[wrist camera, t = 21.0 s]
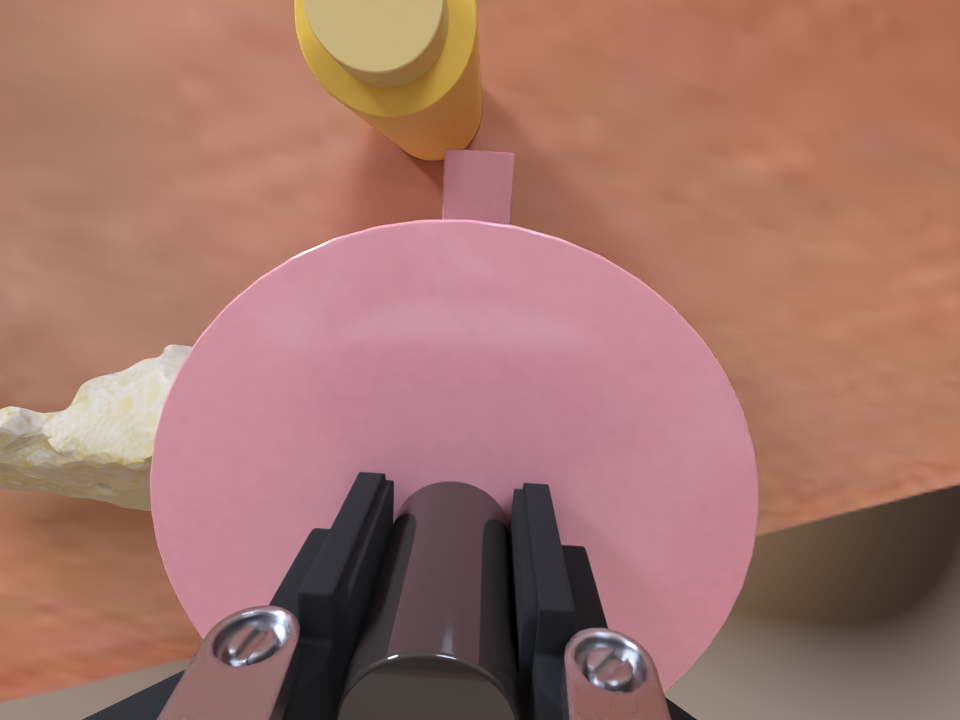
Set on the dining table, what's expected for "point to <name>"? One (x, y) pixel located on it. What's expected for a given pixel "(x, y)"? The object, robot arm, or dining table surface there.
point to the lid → (457, 452)
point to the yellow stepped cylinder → (399, 66)
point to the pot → (478, 185)
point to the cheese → (93, 437)
